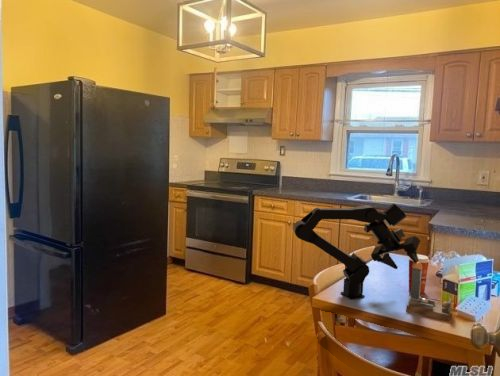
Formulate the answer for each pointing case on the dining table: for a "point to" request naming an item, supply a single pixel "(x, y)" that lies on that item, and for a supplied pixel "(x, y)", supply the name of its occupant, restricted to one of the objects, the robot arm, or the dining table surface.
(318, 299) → the dining table surface
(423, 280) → the paper cup
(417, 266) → the press handle
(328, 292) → the dining table surface
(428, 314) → the press bench
